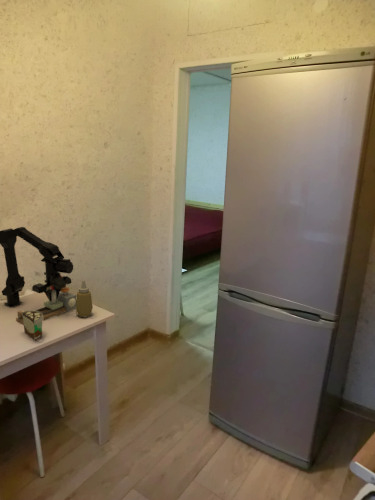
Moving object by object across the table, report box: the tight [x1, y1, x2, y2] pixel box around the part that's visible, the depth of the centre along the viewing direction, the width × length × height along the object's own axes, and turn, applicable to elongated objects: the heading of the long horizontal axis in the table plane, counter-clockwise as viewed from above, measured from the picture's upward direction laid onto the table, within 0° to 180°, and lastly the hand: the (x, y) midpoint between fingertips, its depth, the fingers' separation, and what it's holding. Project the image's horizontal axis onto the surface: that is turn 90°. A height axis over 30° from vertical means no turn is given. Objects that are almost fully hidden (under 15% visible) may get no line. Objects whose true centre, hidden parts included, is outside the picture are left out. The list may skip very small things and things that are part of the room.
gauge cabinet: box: [57, 291, 77, 312], centre depth 180 cm, size 10×6×7 cm, turn 57°
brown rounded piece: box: [60, 286, 70, 295], centre depth 179 cm, size 4×4×4 cm
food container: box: [22, 309, 45, 342], centre depth 151 cm, size 12×6×10 cm, turn 48°
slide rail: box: [15, 305, 67, 326], centre depth 169 cm, size 9×22×4 cm, turn 147°
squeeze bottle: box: [75, 280, 94, 318], centre depth 170 cm, size 8×8×18 cm
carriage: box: [43, 290, 63, 310], centre depth 173 cm, size 7×6×8 cm
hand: (53, 300), depth 173 cm, fingers closed on carriage, 3 cm apart
